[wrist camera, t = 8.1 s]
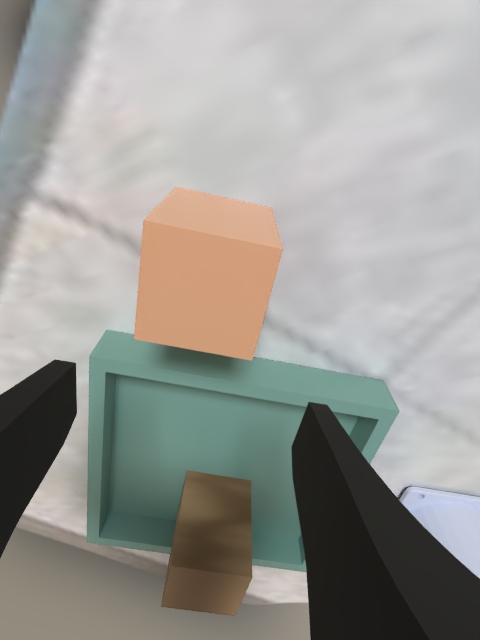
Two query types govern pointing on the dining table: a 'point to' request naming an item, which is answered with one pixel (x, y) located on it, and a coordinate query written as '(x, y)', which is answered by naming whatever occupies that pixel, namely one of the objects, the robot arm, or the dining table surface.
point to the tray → (208, 438)
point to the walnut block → (211, 545)
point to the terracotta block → (206, 273)
